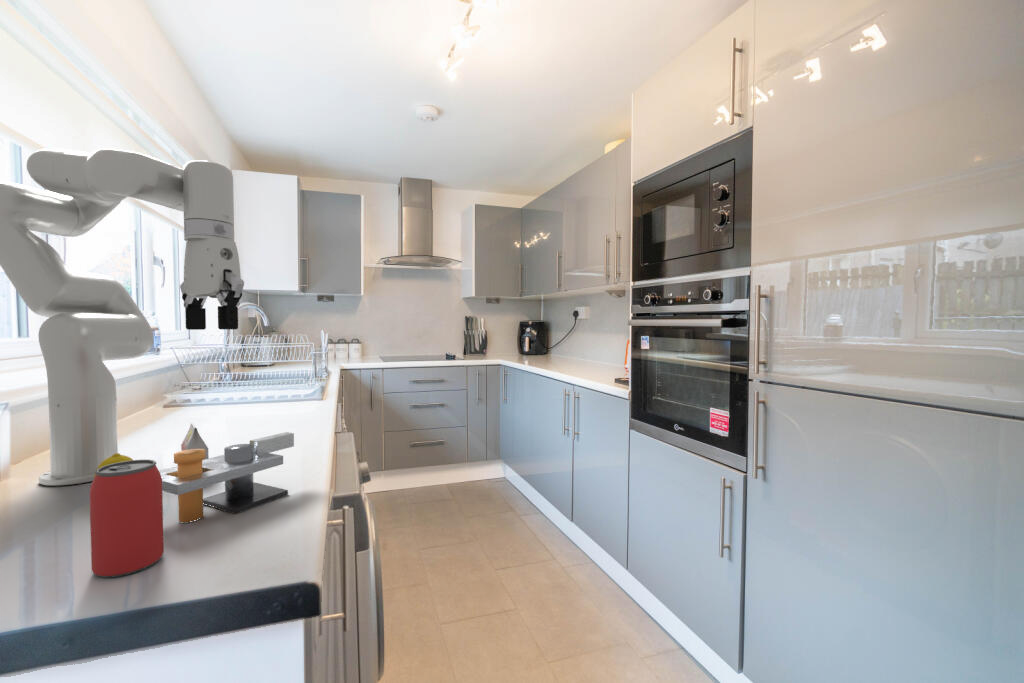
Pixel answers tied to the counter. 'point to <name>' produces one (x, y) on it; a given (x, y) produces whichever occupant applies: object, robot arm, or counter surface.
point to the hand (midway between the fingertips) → (211, 329)
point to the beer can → (126, 518)
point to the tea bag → (194, 441)
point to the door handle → (235, 474)
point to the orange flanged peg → (192, 500)
